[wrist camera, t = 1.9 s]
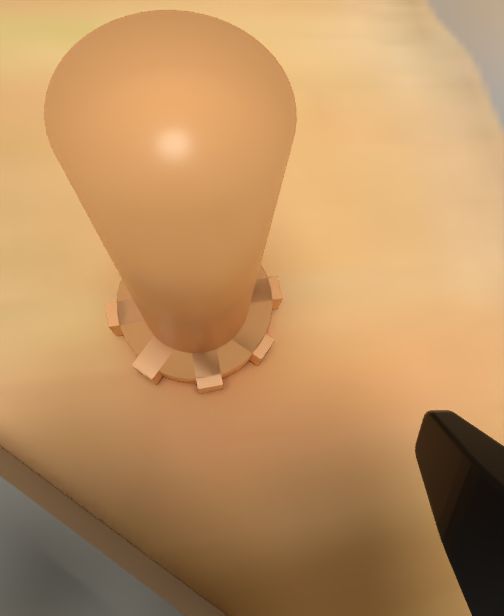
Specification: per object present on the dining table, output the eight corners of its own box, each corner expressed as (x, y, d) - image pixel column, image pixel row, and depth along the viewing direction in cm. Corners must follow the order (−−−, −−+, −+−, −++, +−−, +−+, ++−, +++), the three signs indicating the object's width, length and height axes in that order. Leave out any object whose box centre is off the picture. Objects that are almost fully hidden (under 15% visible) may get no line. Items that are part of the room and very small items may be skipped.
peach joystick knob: (306, 293, 21) (439, 78, 9) (216, 426, 19) (224, 392, 7) (179, 210, 22) (137, -98, 9) (79, 330, 20) (-141, 139, 7)
